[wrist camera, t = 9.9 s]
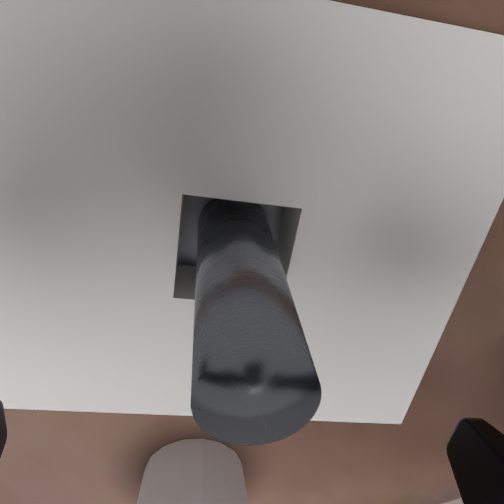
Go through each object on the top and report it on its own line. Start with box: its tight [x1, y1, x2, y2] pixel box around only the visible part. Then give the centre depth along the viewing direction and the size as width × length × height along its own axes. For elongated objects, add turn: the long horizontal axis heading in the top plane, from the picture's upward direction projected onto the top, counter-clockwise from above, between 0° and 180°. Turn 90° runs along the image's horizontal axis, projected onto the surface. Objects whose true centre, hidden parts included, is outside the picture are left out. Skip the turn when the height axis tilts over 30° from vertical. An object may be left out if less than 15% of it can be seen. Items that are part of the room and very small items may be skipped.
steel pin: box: [191, 198, 322, 445], centre depth 13 cm, size 3×3×9 cm
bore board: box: [0, 0, 504, 424], centre depth 16 cm, size 18×16×3 cm
